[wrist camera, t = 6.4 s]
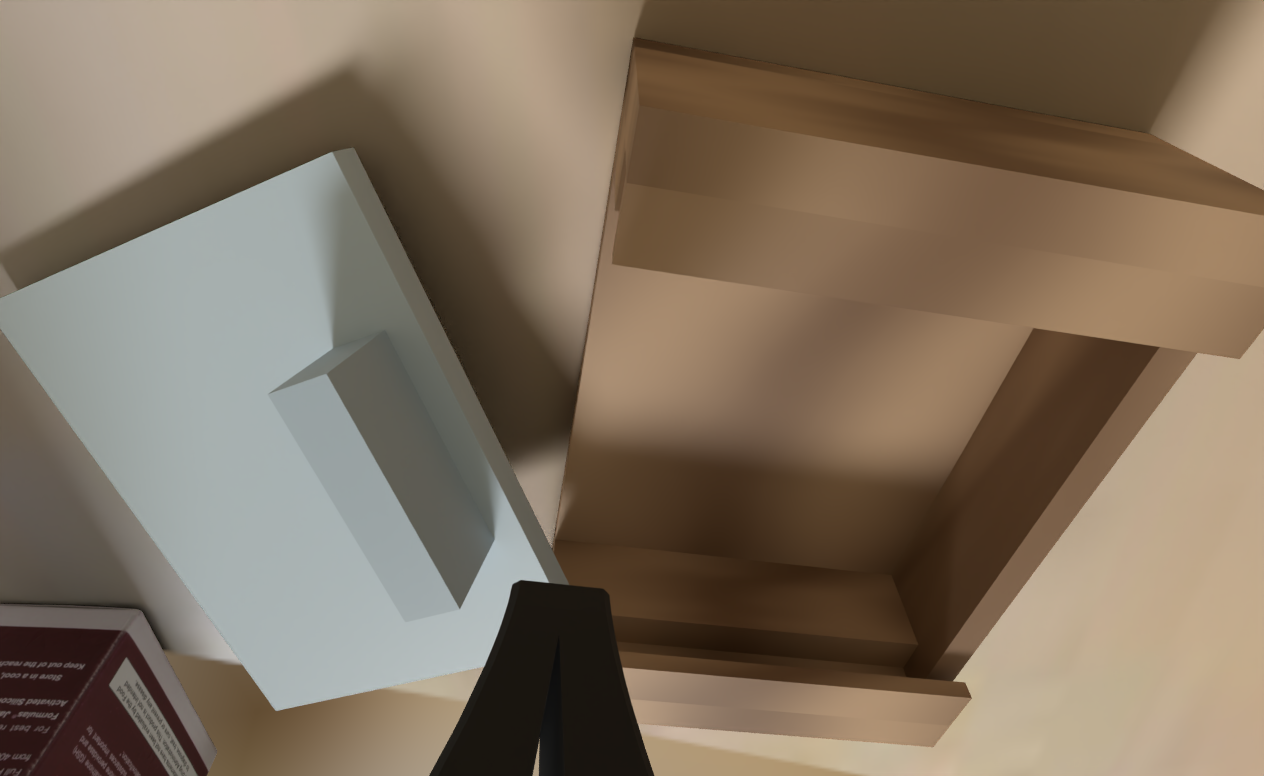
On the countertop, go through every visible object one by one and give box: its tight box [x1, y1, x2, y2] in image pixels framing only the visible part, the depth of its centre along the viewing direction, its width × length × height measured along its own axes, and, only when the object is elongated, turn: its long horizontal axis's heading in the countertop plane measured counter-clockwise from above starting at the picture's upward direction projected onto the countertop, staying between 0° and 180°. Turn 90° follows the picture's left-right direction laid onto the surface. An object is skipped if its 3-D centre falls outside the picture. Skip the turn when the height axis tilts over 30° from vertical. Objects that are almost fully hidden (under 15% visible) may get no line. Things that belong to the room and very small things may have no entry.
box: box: [552, 38, 1264, 747], centre depth 15 cm, size 10×14×4 cm
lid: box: [0, 147, 569, 711], centre depth 15 cm, size 9×11×3 cm
